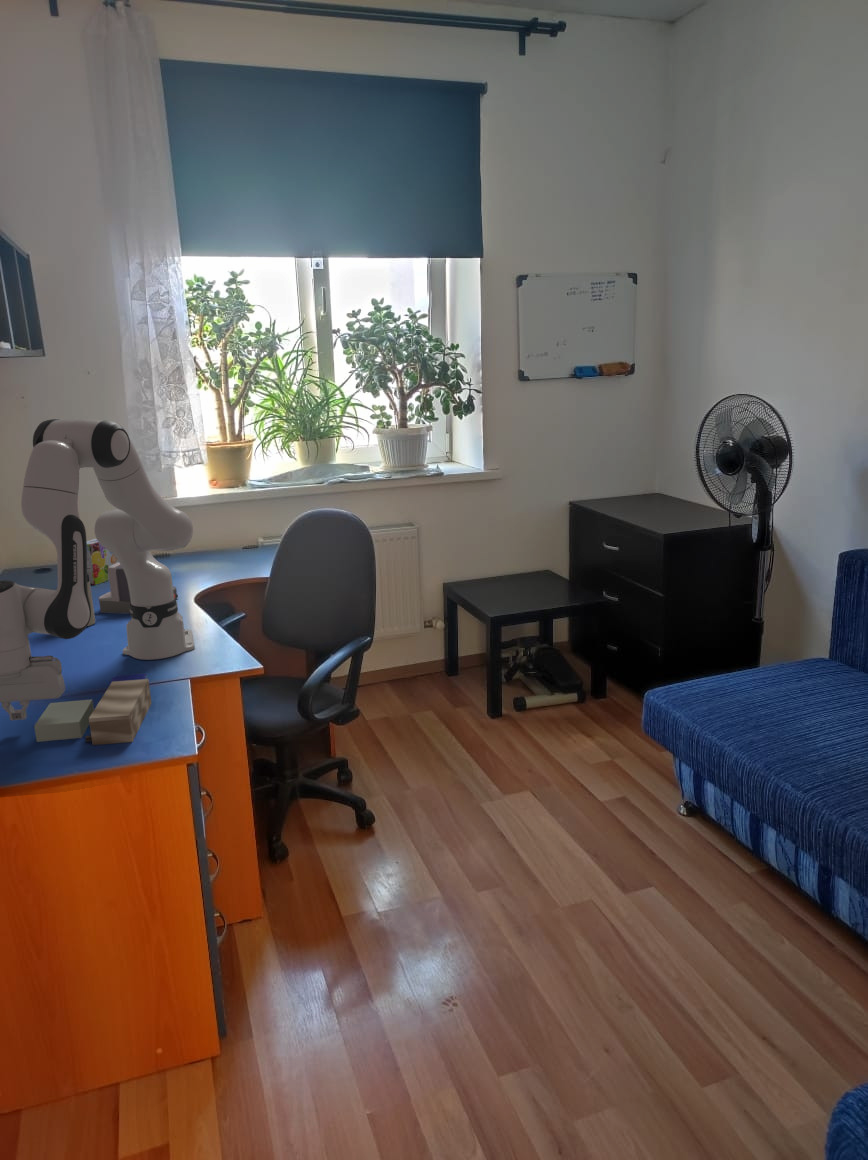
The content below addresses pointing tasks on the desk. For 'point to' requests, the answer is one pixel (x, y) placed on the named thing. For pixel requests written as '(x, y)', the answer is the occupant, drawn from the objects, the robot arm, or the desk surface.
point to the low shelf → (120, 712)
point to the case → (64, 720)
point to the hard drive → (128, 677)
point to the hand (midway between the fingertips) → (18, 718)
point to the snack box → (98, 562)
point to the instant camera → (118, 592)
